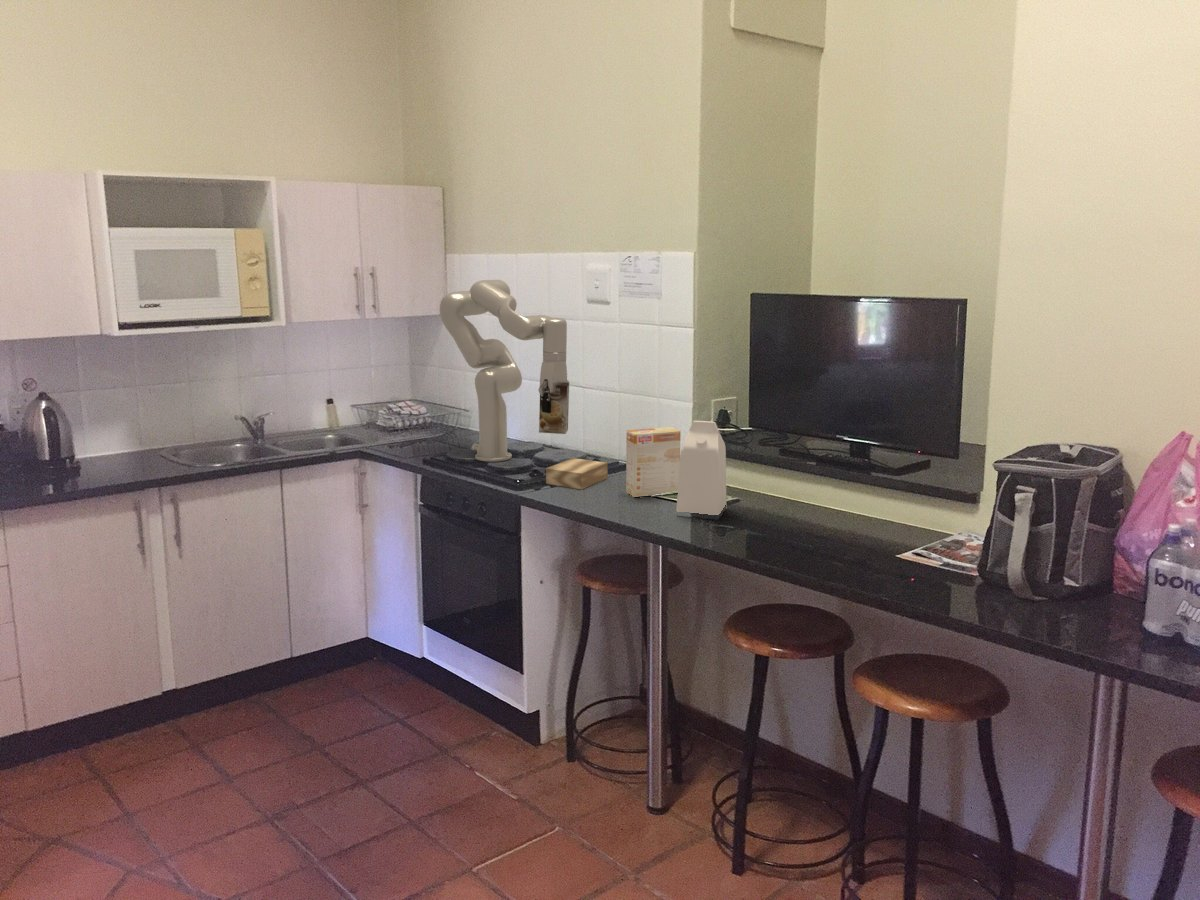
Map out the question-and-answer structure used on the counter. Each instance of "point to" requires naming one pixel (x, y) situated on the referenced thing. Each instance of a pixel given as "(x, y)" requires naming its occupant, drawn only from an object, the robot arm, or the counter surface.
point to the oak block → (576, 473)
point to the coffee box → (556, 411)
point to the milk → (702, 470)
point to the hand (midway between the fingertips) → (553, 410)
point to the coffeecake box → (652, 461)
